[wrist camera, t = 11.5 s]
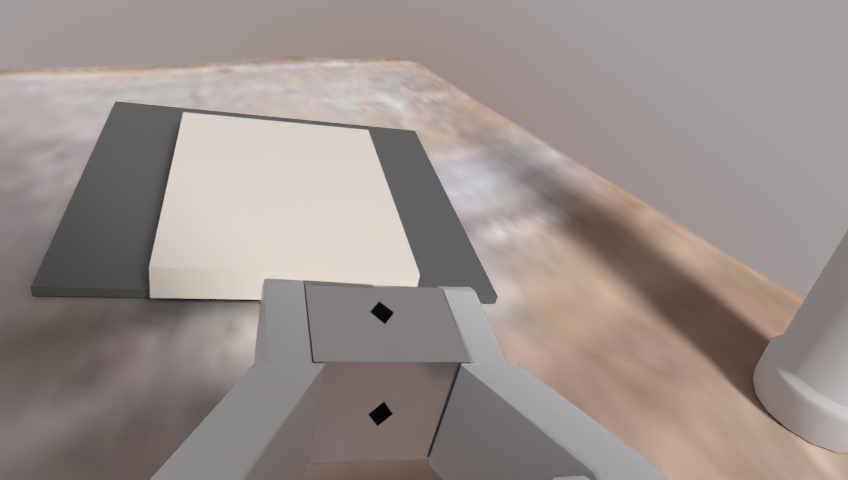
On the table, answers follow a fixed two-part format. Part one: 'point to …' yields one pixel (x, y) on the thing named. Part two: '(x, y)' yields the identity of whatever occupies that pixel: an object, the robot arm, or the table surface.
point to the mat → (145, 190)
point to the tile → (274, 211)
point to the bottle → (812, 362)
